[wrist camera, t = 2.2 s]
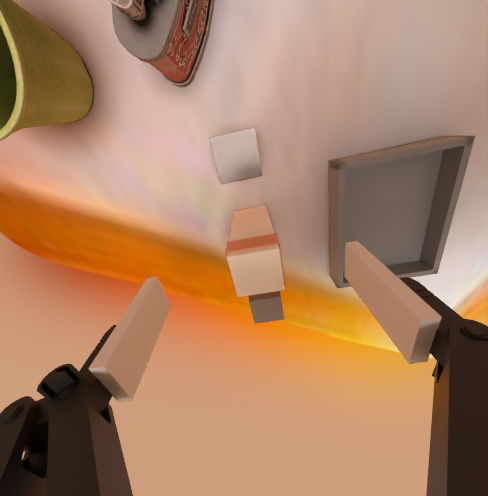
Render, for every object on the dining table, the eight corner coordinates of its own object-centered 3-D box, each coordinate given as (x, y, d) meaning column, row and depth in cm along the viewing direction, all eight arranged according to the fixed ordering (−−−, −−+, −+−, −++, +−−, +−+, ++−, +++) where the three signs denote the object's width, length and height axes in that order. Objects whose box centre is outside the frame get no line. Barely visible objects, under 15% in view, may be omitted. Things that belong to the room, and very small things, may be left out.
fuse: (266, 203, 23) (280, 246, 14) (271, 235, 25) (286, 290, 16) (232, 210, 23) (224, 256, 14) (239, 240, 25) (236, 298, 16)
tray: (448, 135, 20) (474, 135, 17) (420, 261, 26) (437, 273, 24) (328, 160, 21) (338, 163, 19) (329, 275, 27) (337, 288, 25)
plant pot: (-9, 103, 19) (-184, 81, 11) (-6, -35, 15) (-270, -216, 7) (99, 161, 21) (16, 176, 13) (126, 53, 17) (30, -14, 9)
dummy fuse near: (251, 129, 20) (254, 127, 14) (257, 165, 21) (262, 175, 16) (218, 137, 20) (209, 138, 15) (226, 172, 21) (220, 184, 16)
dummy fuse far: (273, 264, 26) (280, 296, 21) (276, 284, 28) (284, 319, 23) (248, 268, 27) (249, 301, 21) (252, 288, 28) (254, 323, 23)
